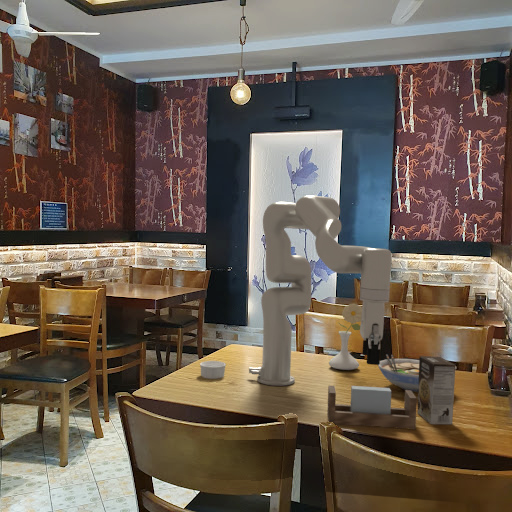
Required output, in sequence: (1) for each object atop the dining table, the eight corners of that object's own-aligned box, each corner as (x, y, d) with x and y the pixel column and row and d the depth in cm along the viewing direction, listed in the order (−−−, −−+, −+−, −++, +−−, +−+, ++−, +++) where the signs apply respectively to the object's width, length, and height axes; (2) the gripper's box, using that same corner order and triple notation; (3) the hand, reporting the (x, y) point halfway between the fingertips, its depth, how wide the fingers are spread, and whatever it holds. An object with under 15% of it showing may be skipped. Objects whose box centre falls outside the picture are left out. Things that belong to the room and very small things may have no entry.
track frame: (328, 423, 131) (329, 392, 130) (327, 414, 138) (328, 385, 137) (415, 429, 128) (416, 398, 128) (409, 419, 135) (411, 390, 135)
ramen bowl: (456, 403, 151) (457, 376, 151) (378, 396, 156) (379, 370, 156) (442, 381, 176) (443, 358, 176) (375, 376, 180) (376, 353, 180)
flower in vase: (323, 369, 188) (326, 302, 188) (335, 363, 198) (337, 300, 198) (356, 374, 182) (359, 305, 181) (367, 368, 191) (370, 303, 191)
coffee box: (416, 412, 141) (418, 355, 141) (438, 413, 142) (440, 356, 142) (430, 424, 132) (432, 363, 132) (453, 424, 133) (456, 363, 132)
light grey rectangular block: (351, 419, 132) (352, 388, 132) (350, 415, 135) (351, 385, 135) (390, 421, 131) (391, 391, 131) (388, 417, 134) (389, 388, 134)
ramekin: (224, 380, 169) (224, 367, 169) (198, 379, 169) (198, 366, 169) (226, 373, 178) (226, 361, 178) (201, 372, 178) (201, 360, 178)
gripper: (356, 290, 141) (353, 351, 142) (363, 298, 124) (359, 367, 125) (384, 292, 140) (380, 353, 141) (394, 300, 123) (390, 369, 124)
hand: (370, 359), depth 133 cm, fingers open, 9 cm apart
